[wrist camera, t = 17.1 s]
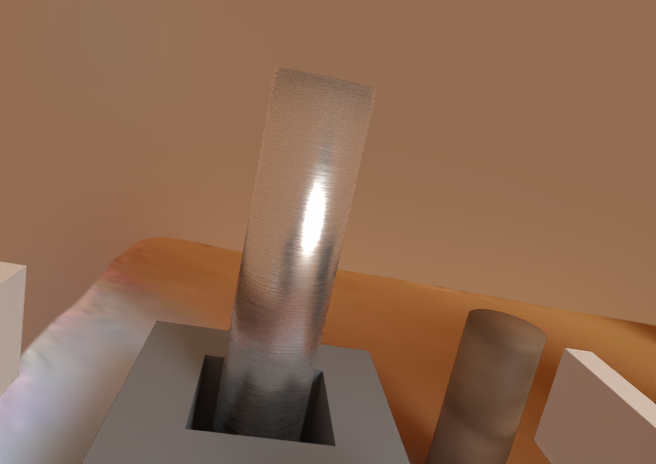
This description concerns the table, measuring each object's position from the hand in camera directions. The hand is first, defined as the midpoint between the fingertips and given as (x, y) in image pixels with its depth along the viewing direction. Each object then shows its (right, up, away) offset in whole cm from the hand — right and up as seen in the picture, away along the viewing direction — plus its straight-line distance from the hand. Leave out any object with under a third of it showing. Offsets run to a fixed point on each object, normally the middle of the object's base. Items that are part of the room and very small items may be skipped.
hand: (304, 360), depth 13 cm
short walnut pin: (+8, -11, +17) cm, 22 cm away
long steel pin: (-4, -10, +12) cm, 16 cm away
